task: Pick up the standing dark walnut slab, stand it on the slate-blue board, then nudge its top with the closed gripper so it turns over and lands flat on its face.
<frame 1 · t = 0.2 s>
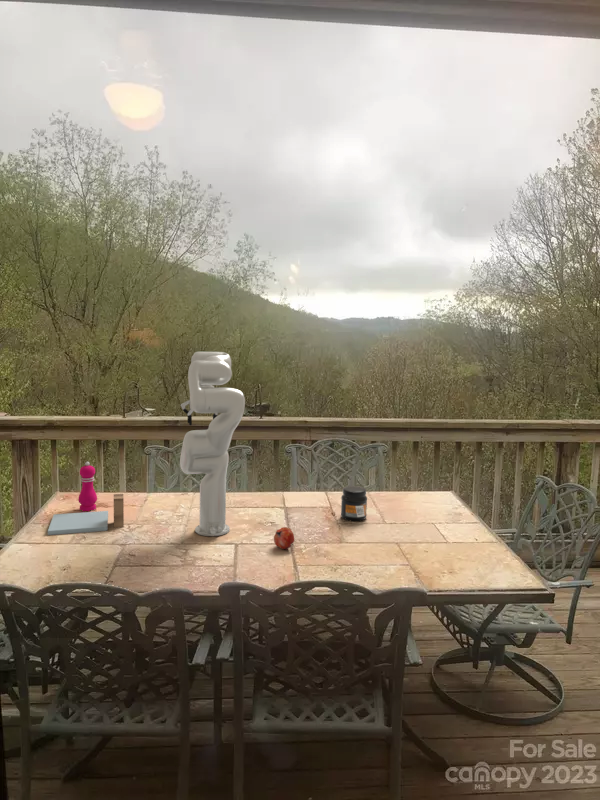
hand: (202, 424, 222), 36 cm above the table, tool pointing down, fingers open, 9 cm apart
walnut slab: (118, 524, 208), on the table
board: (79, 524, 208), on the table
supplement container: (353, 518, 224), on the table
pomegranate: (284, 548, 188), on the table
pepper mill: (87, 509, 226), on the table
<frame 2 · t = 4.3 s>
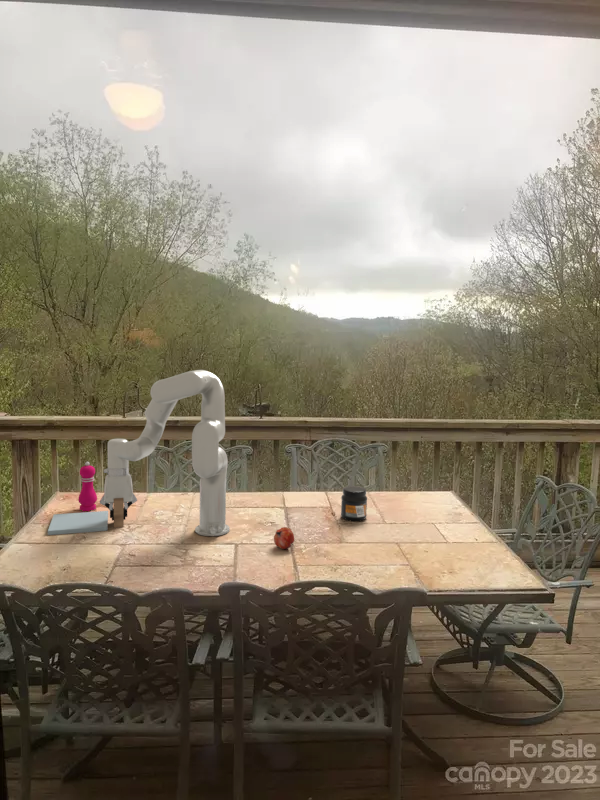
hand: (118, 518, 208), 2 cm above the table, tool pointing down, fingers closed on walnut slab, 3 cm apart
walnut slab: (118, 524, 208), on the table, touching gripper
everything else where it was.
when the fingers open (4 cm above the table, at t = 9.1 s): walnut slab stays where it is, resting on board.
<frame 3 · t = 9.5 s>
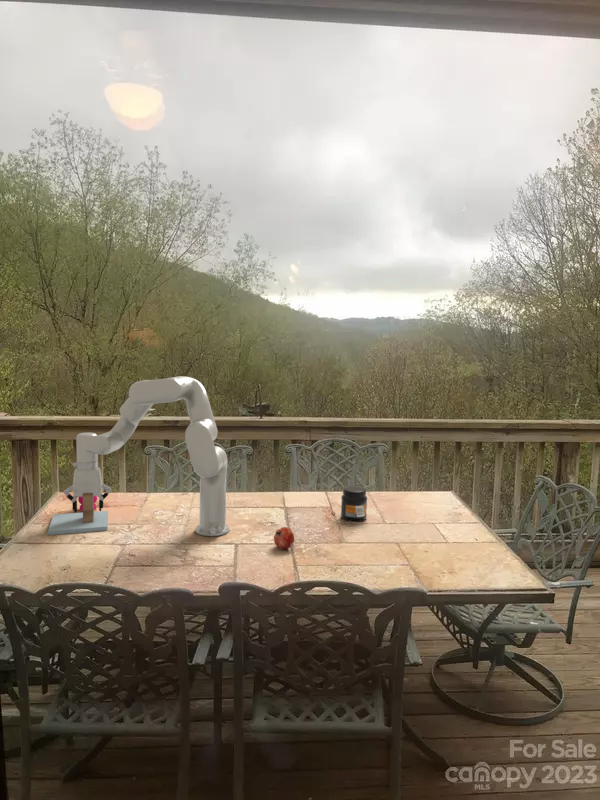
hand: (88, 510, 208), 5 cm above the table, tool pointing down, fingers open, 8 cm apart
walnut slab: (88, 519, 208), point 1 cm above the table, touching board
everything else where it was.
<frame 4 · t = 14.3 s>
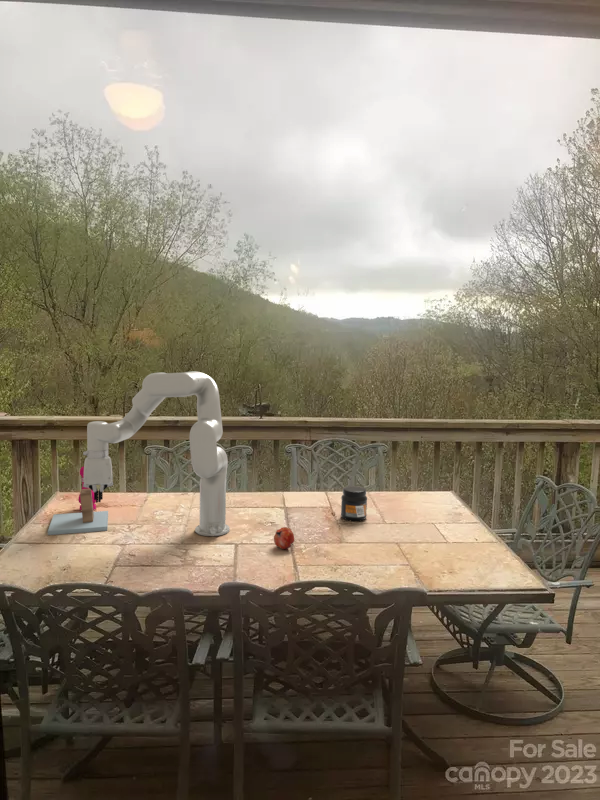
hand: (98, 501, 209), 8 cm above the table, tool pointing down, fingers closed
walnut slab: (88, 519, 208), point 2 cm above the table, touching board, gripper
everything else where it was.
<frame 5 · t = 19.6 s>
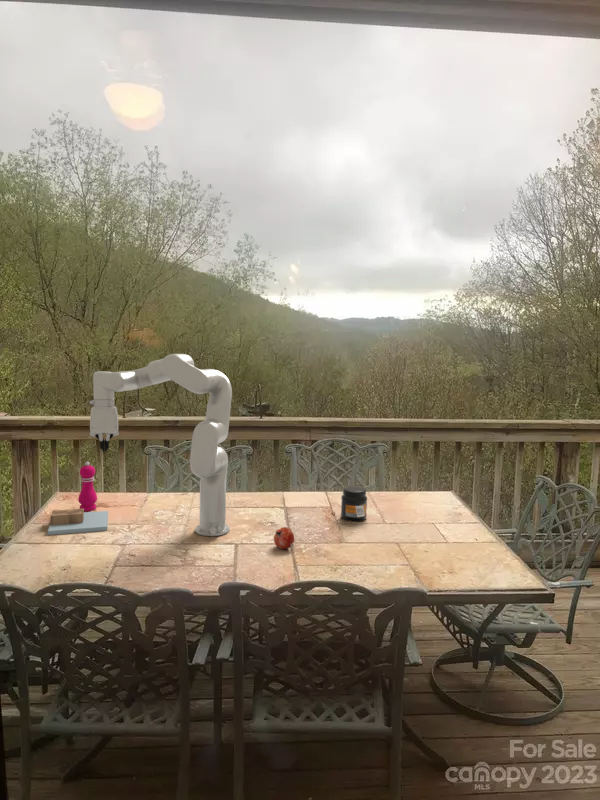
hand: (104, 450, 212), 27 cm above the table, tool pointing down, fingers closed
walnut slab: (83, 515, 208), point 3 cm above the table, tilted 90°, touching board
everything else where it was.
at the end: walnut slab tilted 90°; walnut slab inside the target area on the board (1.8 cm from its centre), point 3.2 cm above the board's base; the gripper is holding nothing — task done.
